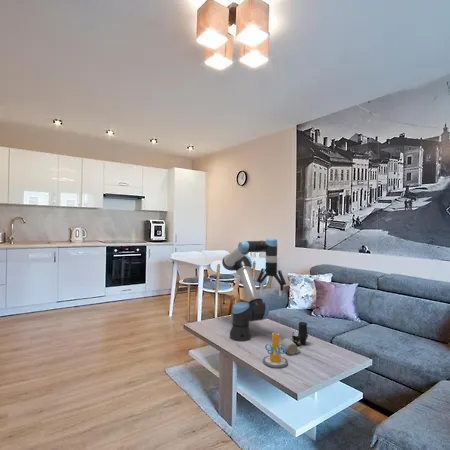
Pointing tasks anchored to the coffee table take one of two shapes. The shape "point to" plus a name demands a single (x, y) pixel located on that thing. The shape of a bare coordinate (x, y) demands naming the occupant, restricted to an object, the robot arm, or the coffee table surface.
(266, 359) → the plate
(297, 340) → the scope
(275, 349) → the cylinder
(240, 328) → the robot arm
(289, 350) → the ceramic mug
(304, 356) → the coffee table surface
